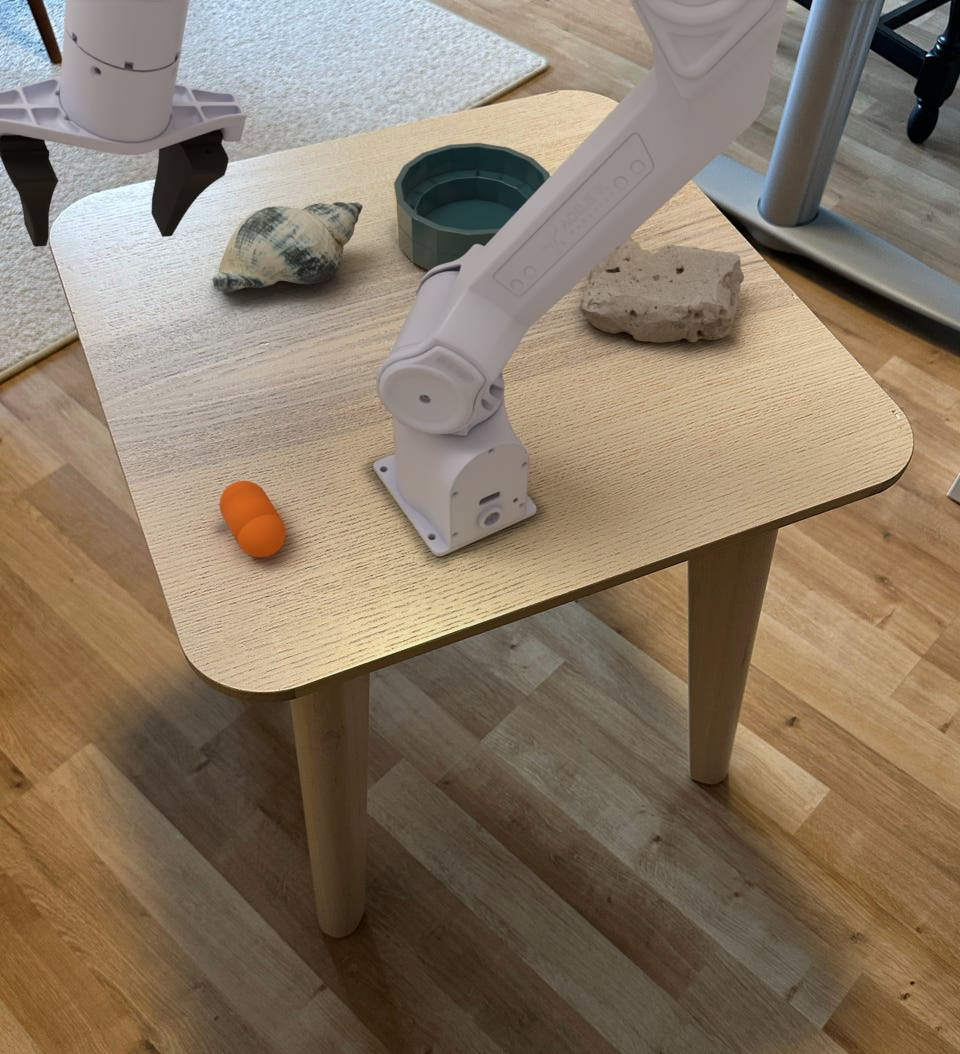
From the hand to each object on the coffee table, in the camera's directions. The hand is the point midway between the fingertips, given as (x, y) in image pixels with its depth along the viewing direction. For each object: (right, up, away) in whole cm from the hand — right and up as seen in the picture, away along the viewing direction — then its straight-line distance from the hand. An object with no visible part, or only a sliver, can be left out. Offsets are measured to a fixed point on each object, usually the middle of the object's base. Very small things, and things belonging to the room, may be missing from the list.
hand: (100, 229), depth 66 cm
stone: (+38, -1, +22) cm, 44 cm away
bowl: (+23, +7, +28) cm, 37 cm away
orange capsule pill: (+8, -19, +7) cm, 21 cm away
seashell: (+7, +3, +24) cm, 25 cm away
